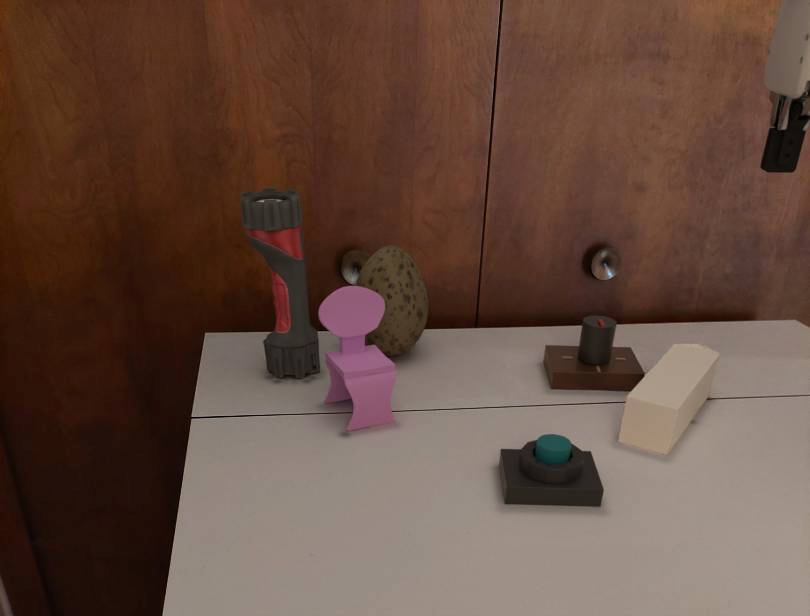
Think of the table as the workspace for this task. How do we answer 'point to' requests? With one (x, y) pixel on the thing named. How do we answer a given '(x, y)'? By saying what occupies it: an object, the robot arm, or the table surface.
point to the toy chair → (358, 356)
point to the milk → (668, 397)
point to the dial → (596, 340)
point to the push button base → (549, 478)
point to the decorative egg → (395, 299)
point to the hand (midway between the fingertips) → (777, 170)
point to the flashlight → (283, 278)
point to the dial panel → (592, 370)
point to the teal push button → (553, 449)
